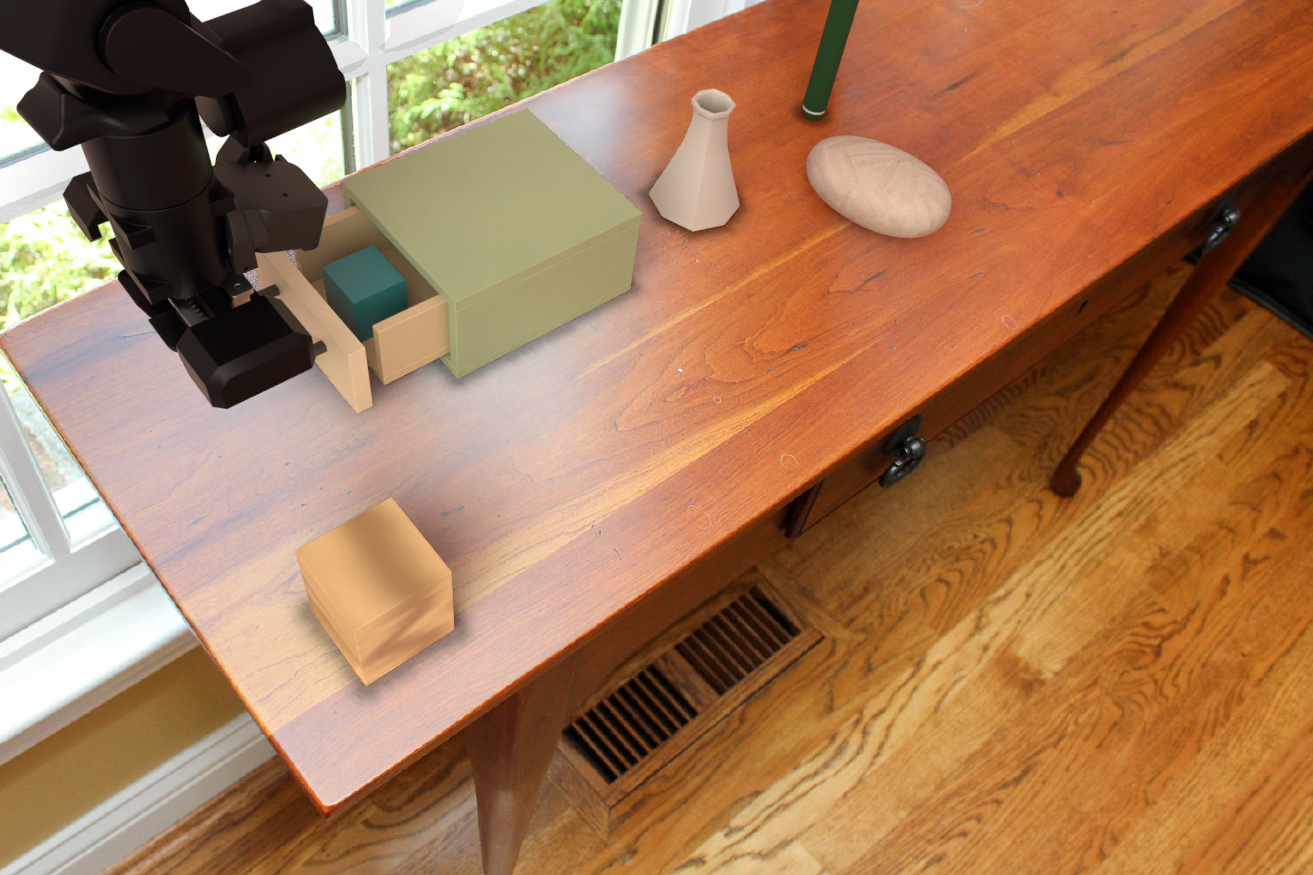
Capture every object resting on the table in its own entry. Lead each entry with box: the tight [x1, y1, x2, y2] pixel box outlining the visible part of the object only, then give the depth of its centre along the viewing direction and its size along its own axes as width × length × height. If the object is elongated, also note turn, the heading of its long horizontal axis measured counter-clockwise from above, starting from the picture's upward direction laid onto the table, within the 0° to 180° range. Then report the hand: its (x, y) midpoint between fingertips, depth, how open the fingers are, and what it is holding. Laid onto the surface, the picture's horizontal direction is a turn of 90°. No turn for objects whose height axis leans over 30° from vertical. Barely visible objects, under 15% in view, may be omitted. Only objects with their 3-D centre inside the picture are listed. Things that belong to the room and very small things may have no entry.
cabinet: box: [341, 107, 643, 380], centre depth 78 cm, size 16×14×8 cm
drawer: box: [255, 205, 450, 415], centre depth 73 cm, size 20×13×6 cm, turn 130°
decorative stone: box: [805, 134, 953, 239], centre depth 89 cm, size 13×9×5 cm
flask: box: [648, 87, 741, 232], centre depth 85 cm, size 7×7×10 cm
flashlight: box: [801, 0, 860, 122], centre depth 90 cm, size 5×5×20 cm
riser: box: [295, 496, 455, 687], centre depth 61 cm, size 6×6×7 cm
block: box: [322, 245, 408, 343], centre depth 73 cm, size 4×4×4 cm
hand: (215, 366), depth 68 cm, fingers closed, pressing on drawer
